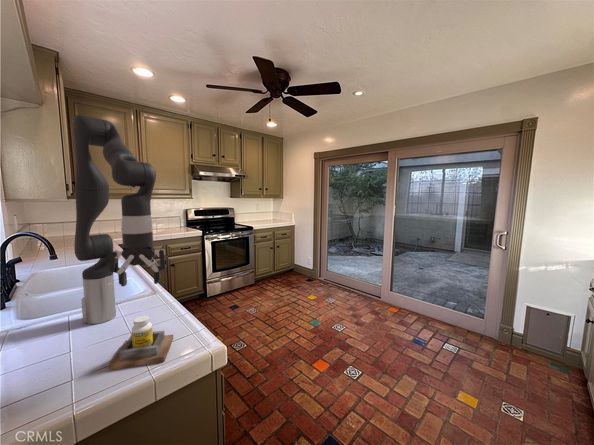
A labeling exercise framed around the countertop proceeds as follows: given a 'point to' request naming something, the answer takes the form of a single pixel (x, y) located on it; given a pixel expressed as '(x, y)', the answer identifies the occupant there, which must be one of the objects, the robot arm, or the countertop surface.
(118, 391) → the countertop surface
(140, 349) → the socket stand
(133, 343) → the supplement bottle
